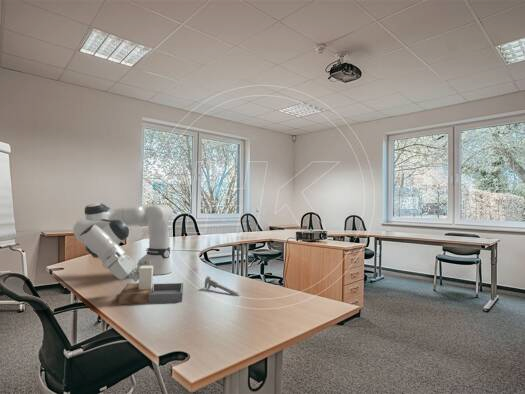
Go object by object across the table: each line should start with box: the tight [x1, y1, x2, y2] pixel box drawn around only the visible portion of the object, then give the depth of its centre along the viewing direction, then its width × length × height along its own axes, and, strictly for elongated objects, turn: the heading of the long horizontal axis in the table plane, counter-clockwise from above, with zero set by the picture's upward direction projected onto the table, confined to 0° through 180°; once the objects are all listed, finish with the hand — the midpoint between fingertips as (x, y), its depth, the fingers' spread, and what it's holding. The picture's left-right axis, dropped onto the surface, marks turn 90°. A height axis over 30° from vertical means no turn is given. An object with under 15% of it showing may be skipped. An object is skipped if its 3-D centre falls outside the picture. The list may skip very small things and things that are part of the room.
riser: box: [118, 282, 154, 305], centre depth 135 cm, size 11×16×4 cm
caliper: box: [204, 275, 241, 297], centre depth 147 cm, size 20×1×6 cm, turn 58°
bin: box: [148, 282, 184, 304], centre depth 138 cm, size 13×16×4 cm
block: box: [138, 266, 154, 290], centre depth 136 cm, size 5×5×9 cm
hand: (138, 279), depth 135 cm, fingers closed
